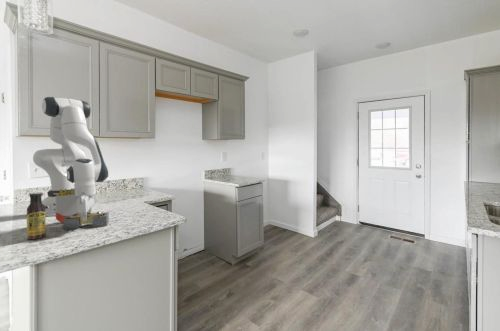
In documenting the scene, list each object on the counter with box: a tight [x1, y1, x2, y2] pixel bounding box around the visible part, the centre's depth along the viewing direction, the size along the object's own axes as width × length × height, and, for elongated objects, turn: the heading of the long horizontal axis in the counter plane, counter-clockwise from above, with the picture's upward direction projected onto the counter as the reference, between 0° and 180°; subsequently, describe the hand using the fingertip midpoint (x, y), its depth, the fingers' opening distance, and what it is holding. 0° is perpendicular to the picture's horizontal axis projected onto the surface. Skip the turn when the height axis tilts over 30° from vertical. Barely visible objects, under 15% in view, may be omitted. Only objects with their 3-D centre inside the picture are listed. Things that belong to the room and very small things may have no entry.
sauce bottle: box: [26, 192, 47, 240], centre depth 107 cm, size 6×6×20 cm
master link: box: [69, 211, 104, 225], centre depth 124 cm, size 14×3×5 cm, turn 113°
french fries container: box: [55, 188, 78, 224], centre depth 130 cm, size 5×11×18 cm, turn 136°
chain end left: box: [62, 216, 83, 231], centre depth 121 cm, size 6×8×5 cm
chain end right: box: [92, 212, 110, 228], centre depth 126 cm, size 6×8×5 cm
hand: (86, 218), depth 124 cm, fingers open, 8 cm apart
